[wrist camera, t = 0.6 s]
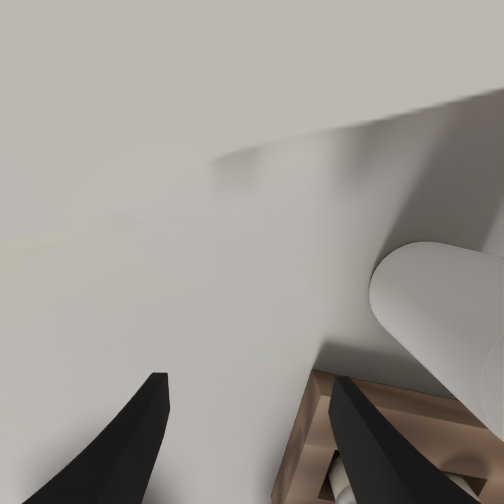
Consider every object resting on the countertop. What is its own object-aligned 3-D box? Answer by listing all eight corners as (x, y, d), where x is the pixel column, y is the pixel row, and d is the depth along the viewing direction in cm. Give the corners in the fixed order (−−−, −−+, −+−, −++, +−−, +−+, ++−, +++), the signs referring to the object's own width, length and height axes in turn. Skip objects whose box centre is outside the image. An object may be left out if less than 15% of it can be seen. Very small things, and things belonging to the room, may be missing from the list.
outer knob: (368, 496, 23) (387, 544, 20) (319, 487, 23) (330, 534, 20) (385, 455, 22) (408, 498, 19) (334, 445, 22) (349, 487, 19)
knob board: (518, 540, 27) (551, 582, 24) (271, 495, 26) (273, 534, 23) (585, 427, 24) (631, 458, 21) (311, 369, 23) (321, 395, 20)
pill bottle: (468, 233, 21) (1008, 328, 6) (460, 329, 22) (867, 587, 8) (365, 242, 21) (647, 358, 6) (365, 337, 22) (586, 608, 8)
